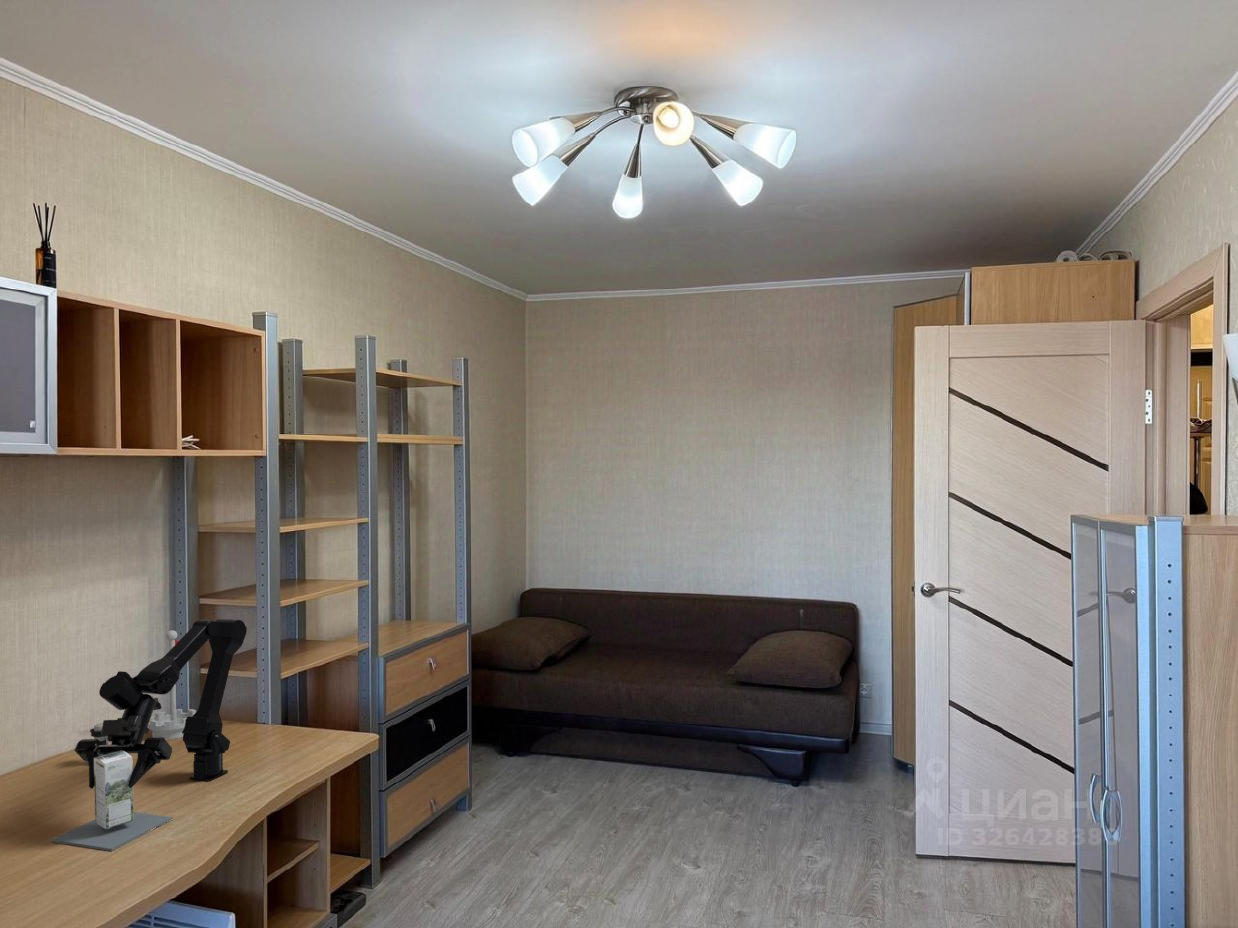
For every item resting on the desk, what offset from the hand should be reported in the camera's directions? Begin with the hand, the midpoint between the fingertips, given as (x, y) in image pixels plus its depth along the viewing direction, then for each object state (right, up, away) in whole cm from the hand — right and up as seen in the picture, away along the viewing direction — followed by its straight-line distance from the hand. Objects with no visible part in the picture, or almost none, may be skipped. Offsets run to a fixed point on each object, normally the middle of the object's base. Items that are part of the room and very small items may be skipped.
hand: (110, 787), depth 189 cm
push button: (-28, -10, +43) cm, 52 cm away
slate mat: (0, -10, +1) cm, 10 cm away
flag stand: (-20, -9, +67) cm, 71 cm away
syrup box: (0, -8, +2) cm, 9 cm away
